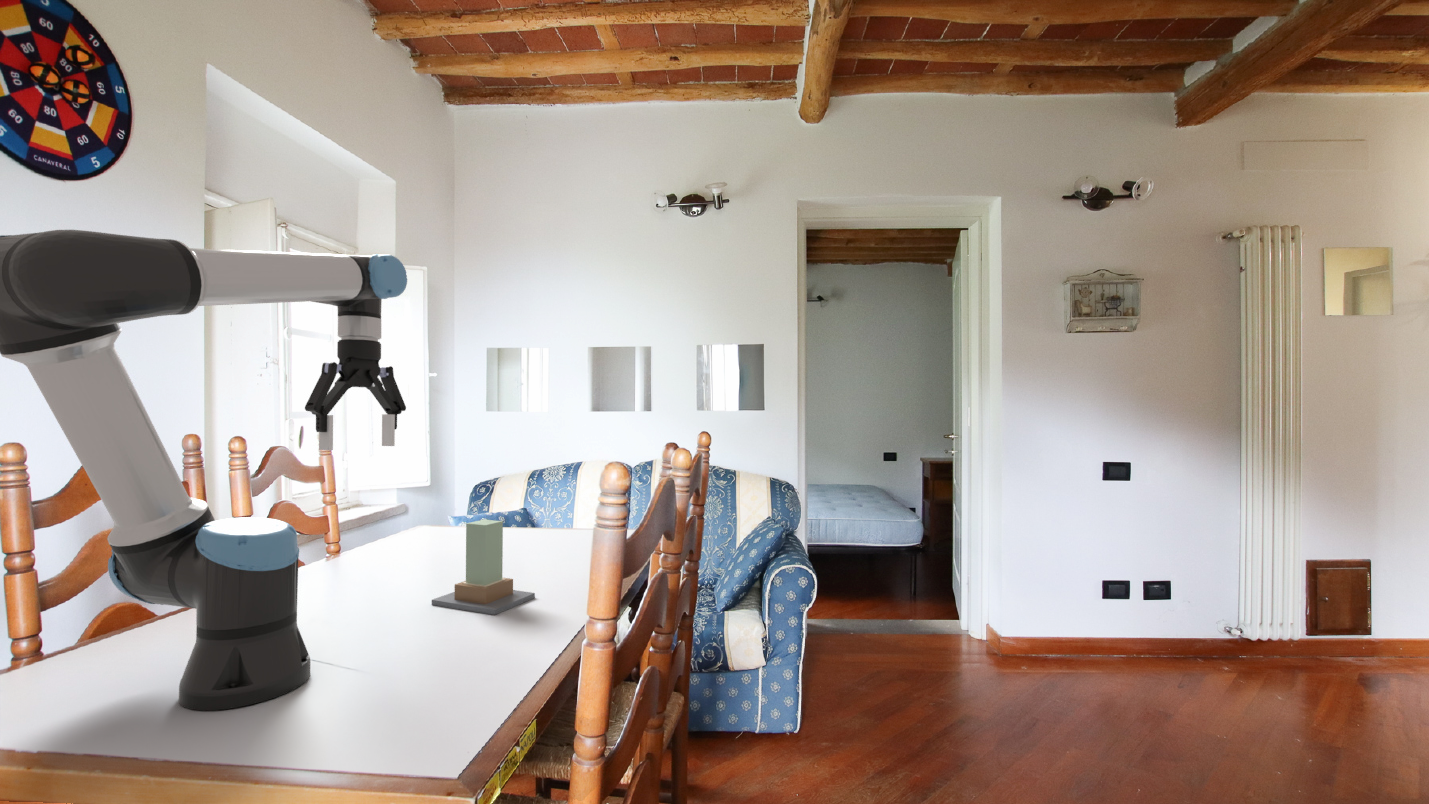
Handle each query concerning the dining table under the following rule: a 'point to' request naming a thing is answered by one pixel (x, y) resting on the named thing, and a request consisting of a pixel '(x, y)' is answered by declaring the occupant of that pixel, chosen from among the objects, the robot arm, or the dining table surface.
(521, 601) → the build base
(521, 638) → the dining table surface
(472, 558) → the sage block
